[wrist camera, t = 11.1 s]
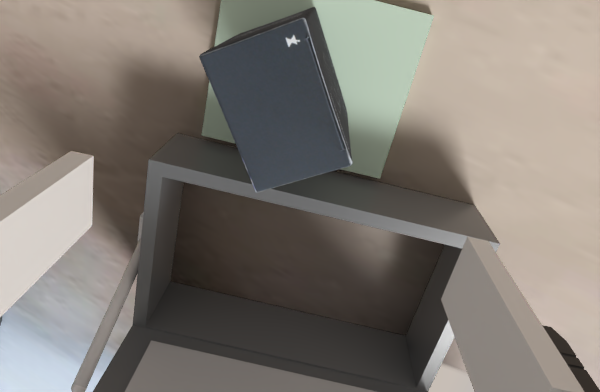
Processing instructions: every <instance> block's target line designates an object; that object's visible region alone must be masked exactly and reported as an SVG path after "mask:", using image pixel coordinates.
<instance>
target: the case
mask: <svg viewBox="0 0 600 392" xmlns="http://www.w3.org/2000/svg"><path fill="white" fill-rule="evenodd" d="M184 182H186V183H190V184H194V185H198V186H203V187H207V188H211V189H215V190H219V191H224V192H228V193H232V194H236V195H240V196H244V197H249V198H253V199H257V200H261V201H265V202H270V203H274V204H278V205H282V206H286V207H290V208H295V209H299V210H303V211H307V212H311V213H316V214H320V215H324V216H328V217H332V218H336V219H341V220H345V221H349V222H353V223H357V224H362V225H366V226H370V227H374V228H378V229H382V230H387V231H391V232H395V233H399V234H403V235H408V236H412V237H416V238H420V239H424V240H428V241H433V242H437V243H441V244H445V245H444V248H443V250H442V252H441V255H440V257H439V259H438V262H437V264H436V266H435V269H434V271H433V273H432V276H431V278H430V280H429V283H428V285H427V287H426V290H425V292H424V294H423V297H422V299H421V301H420V304H419V306H418V308H417V311H416V313H415V315H414V318H413V320H412V322H411V325H410V327H409V329H408V332H407V334H406V336H404V335H400V334H395V333H391V332H387V331H383V330H378V329H374V328H370V327H365V326H361V325H357V324H352V323H348V322H344V321H339V320H335V319H331V318H326V317H322V316H318V315H313V314H309V313H305V312H300V311H296V310H292V309H287V308H283V307H279V306H274V305H270V304H266V303H262V302H257V301H253V300H249V299H244V298H240V297H236V296H231V295H227V294H223V293H218V292H214V291H210V290H205V289H201V288H197V287H192V286H188V285H184V284H179V283H175V282H171V274H172V266H173V259H174V251H175V244H176V236H177V229H178V222H179V214H180V207H181V199H182V192H183V184H184ZM467 237H472V238H476V239H481V240H486V241H489V243H490V244H491V246H492V247H493V249H494V250H495V252H496V251H497V249H498V247H499V245H500V243H499V242H498V240H497V238H496V237H495V235H494V234H493V232H492V231H491V229H490V228H489V226H488V225H487V223H486V222H485V220H484V218H483V217H482V215H481V214H480V212H479V211H478V209H477V208H476V206H475V205H471V204H467V203H463V202H459V201H455V200H451V199H447V198H443V197H438V196H434V195H430V194H426V193H422V192H418V191H414V190H410V189H405V188H401V187H397V186H393V185H389V184H385V183H381V182H377V181H372V180H368V179H364V178H360V177H356V176H352V175H348V174H344V173H340V172H335V171H331V172H327V173H323V174H319V175H316V176H313V177H309V178H306V179H302V180H299V181H295V182H292V183H289V184H285V185H281V186H278V187H275V188H271V189H267V190H264V191H260V192H256V191H255V189H254V187H253V184H252V182H251V179H250V177H249V174H248V172H247V170H246V167H245V165H244V162H243V160H242V158H241V155H240V153H239V151H238V148H236V147H232V146H228V145H224V144H220V143H216V142H212V141H208V140H203V139H199V138H195V137H191V136H187V135H183V134H179V133H177V134H176V135H175V136H174V137H173V138H171V139H170V140H169V141H168V142H167V143H166V144H165V145H164V146H163V147H162V148H161V149H160V150H158V151H157V152H156V153H155V154H154V155H153V156H152V157H151V158H150V159H149V161H148V171H147V182H146V192H145V203H144V212H143V213H142V214H141V215H140V220H139V231H138V241H139V242H138V244H137V246H136V249H135V251H134V253H133V255H132V257H131V259H130V262H129V264H128V266H127V268H126V270H125V272H124V274H123V277H122V279H121V281H120V283H119V285H118V287H117V290H116V292H115V294H114V296H113V298H112V300H111V302H110V305H109V307H108V309H107V311H106V313H105V315H104V318H103V320H102V322H101V324H100V326H99V328H98V331H97V333H96V335H95V337H94V339H93V341H92V343H91V346H90V348H89V350H88V352H87V354H86V356H85V359H84V361H83V363H82V365H81V367H80V369H79V372H78V374H77V376H76V378H75V380H74V382H73V384H72V387H71V390H72V392H85V390H86V388H87V386H88V384H89V381H90V379H91V377H92V375H93V372H94V370H95V368H96V366H97V363H98V361H99V359H100V357H101V354H102V352H103V350H104V348H105V345H106V343H107V341H108V338H109V336H110V334H111V332H112V329H113V327H114V325H115V323H116V320H117V318H118V316H119V314H120V311H121V309H122V307H123V305H124V302H125V300H126V298H127V296H128V293H129V291H130V289H131V287H132V284H133V282H134V280H135V277H136V275H137V273H138V276H137V286H136V296H135V307H134V317H133V326H132V327H131V329H130V331H129V332H128V334H127V336H126V337H125V339H124V341H123V342H122V344H121V346H120V347H119V349H118V351H117V352H116V354H115V356H114V357H113V359H112V361H111V362H110V364H109V366H108V367H107V369H106V371H105V372H104V374H103V376H102V377H101V379H100V381H99V382H98V384H97V386H96V387H95V389H94V391H93V392H428V390H429V388H430V386H431V384H432V382H433V380H434V378H435V376H436V374H437V372H438V370H439V368H440V366H441V364H442V362H443V360H444V358H445V356H446V354H447V352H448V350H449V347H450V345H451V343H452V341H453V339H454V334H453V331H452V328H451V326H450V323H449V320H448V317H447V315H446V312H445V309H444V306H443V304H442V301H441V298H442V296H443V293H444V291H445V289H446V286H447V284H448V281H449V279H450V277H451V274H452V272H453V270H454V267H455V265H456V262H457V260H458V258H459V255H460V253H461V251H462V248H463V246H464V243H465V241H466V239H467Z"/></svg>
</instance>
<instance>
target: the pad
mask: <svg viewBox="0 0 600 392" xmlns="http://www.w3.org/2000/svg"><path fill="white" fill-rule="evenodd" d="M312 7H315V8H316V11H317V14H318V17H319V20H320V23H321V27H322V30H323V33H324V37H325V40H326V43H327V46H328V49H329V52H330V56H331V59H332V63H333V66H334V69H335V72H336V76H337V79H338V82H339V86H340V89H341V92H342V96H343V99H344V102H345V106H346V109H347V114H348V126H349V136H350V146H351V156H352V161H353V163H352V165H351V166H349V167H346V168H342V169H341V170H346V171H350V172H354V173H358V174H362V175H366V176H370V177H374V178H378V179H380V177H381V174H382V171H383V168H384V165H385V162H386V159H387V156H388V153H389V150H390V147H391V144H392V141H393V138H394V135H395V132H396V129H397V126H398V123H399V120H400V117H401V114H402V111H403V108H404V105H405V102H406V99H407V96H408V93H409V90H410V87H411V84H412V81H413V78H414V75H415V72H416V69H417V66H418V63H419V60H420V57H421V54H422V51H423V48H424V45H425V42H426V39H427V36H428V33H429V30H430V27H431V24H432V21H433V18H434V15H430V14H426V13H422V12H418V11H414V10H410V9H407V8H403V7H399V6H395V5H391V4H387V3H383V2H379V1H375V0H221V4H220V11H219V18H218V25H217V32H216V39H215V46H217V45H219V44H221V43H222V42H225V41H226V40H228V39H230V38H232V37H234V36H236V35H238V34H240V33H242V32H246V31H248V30H251V29H254V28H257V27H259V26H262V25H265V24H268V23H271V22H274V21H276V20H279V19H282V18H285V17H288V16H290V15H293V14H296V13H299V12H301V11H304V10H307V9H309V8H312ZM215 46H214V47H215ZM201 136H206V137H210V138H214V139H218V140H222V141H226V142H230V143H234V144H236V143H235V141H234V139H233V136H232V134H231V131H230V129H229V127H228V124H227V122H226V119H225V117H224V115H223V112H222V110H221V107H220V105H219V103H218V100H217V98H216V96H215V93H214V91H213V88H212V86H211V83H210V81H209V87H208V94H207V101H206V108H205V114H204V121H203V128H202V135H201Z"/></svg>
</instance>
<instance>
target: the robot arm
mask: <svg viewBox="0 0 600 392" xmlns="http://www.w3.org/2000/svg"><path fill="white" fill-rule="evenodd" d="M93 163H94V156H93V155H88V154H83V153H79V152H74V151H70V152H69V153H67V154H65V155H64V156H62V157H61V158H59V159H57V160H56V161H54V162H53V163H51V164H49V165H48V166H46V167H45V168H43V169H41V170H40V171H38V172H37V173H35V174H33V175H32V176H30V177H29V178H27V179H25V180H24V181H22V182H21V183H19V184H17V185H16V186H14V187H13V188H11V189H9V190H8V191H6V192H5V193H3V194H1V195H0V325H1V321H2V315H3V314H4V313H5V312H6V311H7V310H8V309H9V308H10V307H11V306H12V305H13V304H14V303H15V302H16V301H17V300H18V299H19V298H20V297H21V296H22V295H23V294H24V293H25V292H26V291H27V290H28V289H29V288H30V287H31V286H32V285H33V284H34V283H35V282H36V281H37V280H38V279H39V278H40V277H41V276H42V275H43V274H44V273H45V272H46V271H47V270H48V269H49V268H50V267H51V266H52V265H53V264H54V263H55V262H56V261H57V260H58V259H59V258H60V257H61V256H62V255H63V254H64V253H65V252H66V251H67V250H68V249H69V248H70V247H71V246H72V245H73V244H74V243H75V242H76V241H77V240H78V239H79V238H80V237H81V236H82V235H83V234H84V233H85V232H86V231H87V230H88V229H89V228H90V227H91V226H92V210H93ZM441 301H442V304H443V306H444V309H445V312H446V315H447V317H448V320H449V323H450V326H451V328H452V331H453V334H454V337H455V339H456V342H457V345H458V348H459V350H460V353H461V356H462V359H463V361H464V364H465V367H466V370H467V372H468V375H469V378H470V381H471V383H472V386H473V389H474V391H475V392H600V390H599V389H598V387H597V386H596V384H595V383H594V381H593V380H592V378H591V377H590V375H589V374H588V372H587V371H586V370H584V366H583V365H582V363H581V362H580V361H579V359H578V358H576V355H575V353H574V352H573V350H572V349H571V347H570V346H569V344H568V343H567V341H566V340H565V339H563V338H562V337H561V336H560V335H559V334H558V333H557V332H556V331H555V330H554V329H552V328H551V327H547V326H542V324H541V323H540V321H539V320H538V318H537V316H536V315H535V313H534V312H533V310H532V309H531V307H530V305H529V304H528V302H527V301H526V299H525V298H524V296H523V294H522V293H521V291H520V290H519V288H518V287H517V285H516V283H515V282H514V280H513V279H512V277H511V276H510V274H509V272H508V271H507V269H506V268H505V266H504V265H503V263H502V261H501V260H500V258H499V257H498V255H497V254H496V252H495V250H494V249H493V247H492V246H491V244H490V243H489V241H486V240H481V239H476V238H472V237H467V239H466V241H465V243H464V246H463V248H462V251H461V253H460V255H459V258H458V260H457V262H456V265H455V267H454V270H453V272H452V274H451V277H450V279H449V281H448V284H447V286H446V289H445V291H444V293H443V296H442V298H441Z"/></svg>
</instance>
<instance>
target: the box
mask: <svg viewBox="0 0 600 392" xmlns="http://www.w3.org/2000/svg"><path fill="white" fill-rule="evenodd" d="M199 57H200V60H201V62H202V65H203V67H204V70H205V72H206V74H207V77H208V79H209V81H210V83H211V86H212V88H213V91H214V93H215V96H216V98H217V100H218V103H219V105H220V107H221V110H222V112H223V115H224V117H225V119H226V122H227V124H228V127H229V129H230V131H231V134H232V136H233V139H234V141H235V143H236V146H237V148H238V151H239V153H240V155H241V158H242V160H243V162H244V165H245V167H246V170H247V172H248V174H249V177H250V179H251V182H252V184H253V187H254V189H255V191H256V192H260V191H264V190H267V189H271V188H275V187H278V186H281V185H285V184H289V183H292V182H295V181H299V180H302V179H306V178H309V177H313V176H316V175H319V174H323V173H327V172H331V171H335V170H338V169H342V168H346V167H349V166H351V165H352V163H353V161H352V156H351V146H350V136H349V126H348V114H347V109H346V106H345V102H344V99H343V96H342V92H341V89H340V86H339V82H338V79H337V76H336V72H335V69H334V66H333V63H332V59H331V56H330V52H329V49H328V46H327V43H326V40H325V37H324V33H323V30H322V27H321V23H320V20H319V17H318V14H317V11H316V8H315V7H312V8H309V9H307V10H304V11H301V12H299V13H296V14H293V15H290V16H288V17H285V18H282V19H279V20H276V21H274V22H271V23H268V24H265V25H262V26H259V27H257V28H254V29H251V30H248V31H246V32H242V33H240V34H238V35H236V36H234V37H232V38H230V39H228V40H226V41H225V42H222V43H221V44H219V45H217V46H215V47H213V48H211V49H210V50H207V51H206V52H204V53H202V54H201V55H200V56H199Z"/></svg>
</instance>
